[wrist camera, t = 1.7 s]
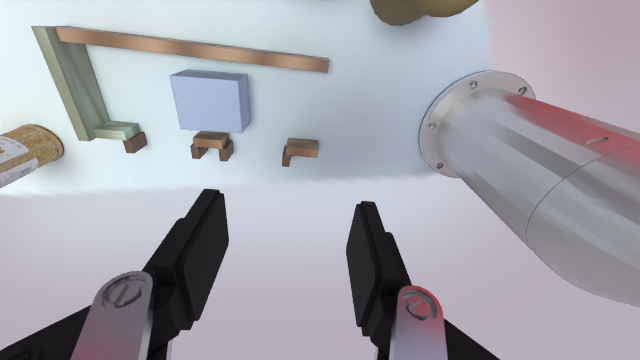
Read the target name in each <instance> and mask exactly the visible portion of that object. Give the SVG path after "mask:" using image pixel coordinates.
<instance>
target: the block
mask: <svg viewBox="0 0 640 360" xmlns="http://www.w3.org/2000/svg"><path fill="white" fill-rule="evenodd" d="M169 77H170V82H171V86H172V91H173V96H174V100H175V105H176V109H177V114H178V119H179V123H180V128H181V129H185V130H200V131H214V132H229V133H243V131H244V130H245V128H246V127H247V125H248V124H249V122H250V109H249V94H248V79H247V74H237V73H225V72H213V71H201V70H189V69H187V70H184V71H181V72H178V73H175V74H172V75H169Z"/></svg>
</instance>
